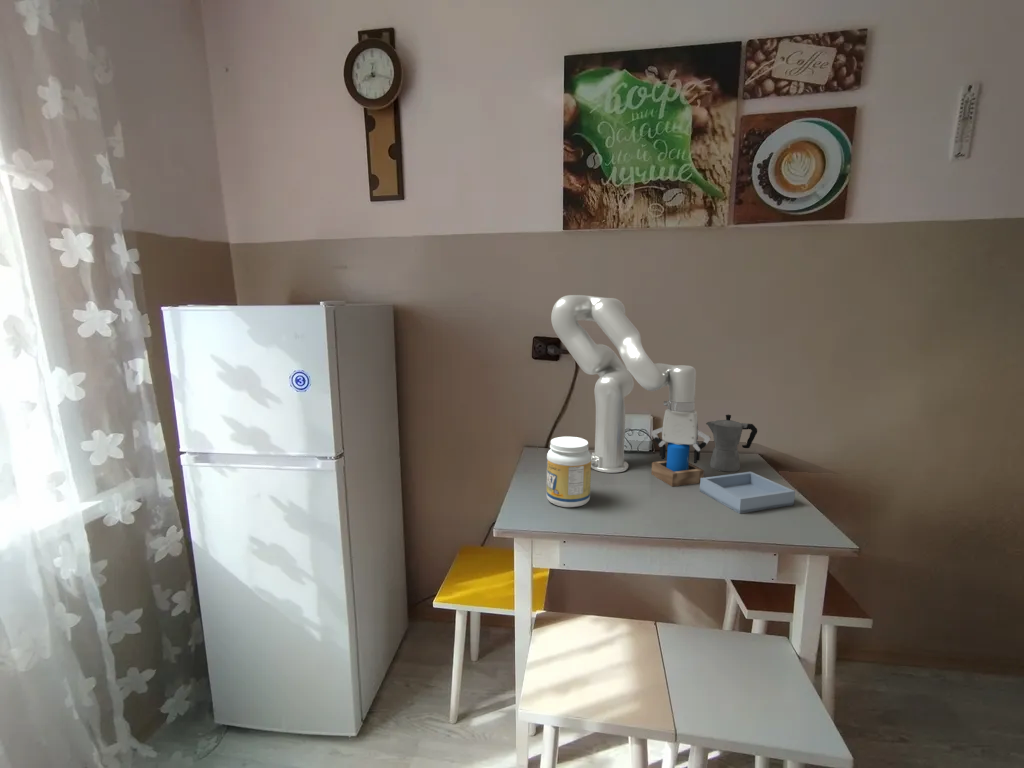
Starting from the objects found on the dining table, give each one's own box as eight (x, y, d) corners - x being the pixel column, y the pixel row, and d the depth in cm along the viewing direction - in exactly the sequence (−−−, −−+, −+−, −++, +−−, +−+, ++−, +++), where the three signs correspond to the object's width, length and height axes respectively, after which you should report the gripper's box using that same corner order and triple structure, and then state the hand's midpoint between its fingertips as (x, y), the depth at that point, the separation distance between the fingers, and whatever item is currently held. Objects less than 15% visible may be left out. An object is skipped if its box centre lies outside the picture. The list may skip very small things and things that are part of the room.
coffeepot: (702, 469, 165) (706, 415, 162) (703, 460, 174) (707, 409, 171) (754, 475, 159) (759, 420, 156) (753, 466, 168) (757, 414, 165)
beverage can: (683, 483, 153) (685, 445, 151) (662, 479, 157) (664, 441, 154) (690, 477, 158) (692, 440, 156) (670, 473, 162) (672, 437, 160)
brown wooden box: (672, 486, 150) (672, 473, 150) (651, 474, 161) (651, 462, 160) (703, 482, 154) (703, 470, 153) (680, 470, 164) (681, 458, 163)
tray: (739, 513, 132) (740, 499, 131) (699, 491, 147) (700, 478, 146) (793, 505, 137) (795, 491, 136) (749, 484, 152) (750, 471, 151)
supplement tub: (539, 495, 144) (539, 437, 141) (577, 489, 149) (578, 433, 146) (558, 511, 133) (559, 450, 130) (598, 504, 137) (600, 445, 134)
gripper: (649, 406, 154) (648, 460, 157) (710, 411, 146) (707, 467, 149) (655, 401, 160) (653, 453, 163) (713, 406, 152) (710, 460, 155)
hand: (679, 460), depth 156 cm, fingers open, 9 cm apart
